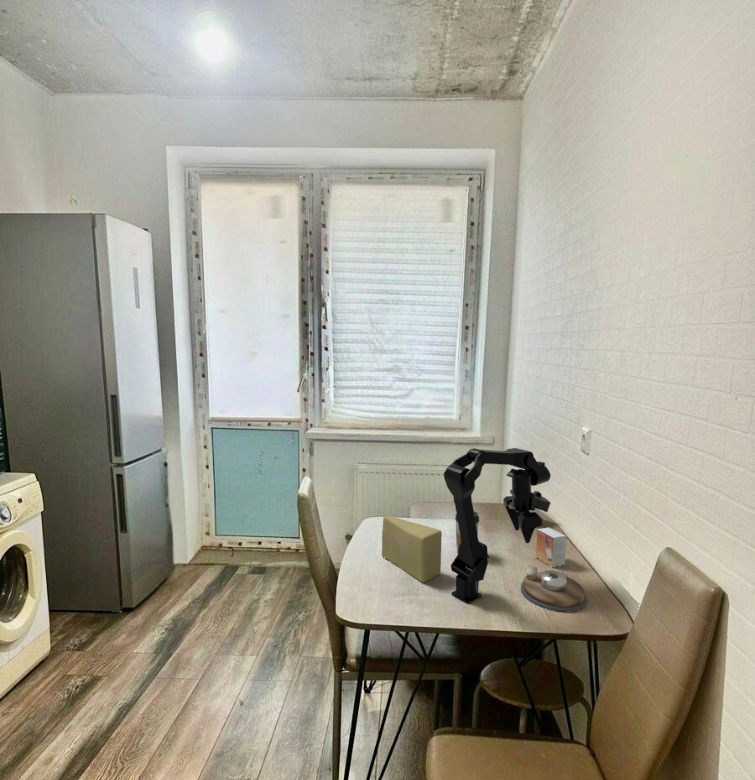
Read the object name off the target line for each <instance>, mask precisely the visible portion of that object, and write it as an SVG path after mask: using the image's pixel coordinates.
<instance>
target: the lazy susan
mask: <svg viewBox="0 0 755 780" xmlns="http://www.w3.org/2000/svg"><path fill="white" fill-rule="evenodd" d="M542 572H543V571H538V567H537V566H535V565H533V564H532V565H531V564H530V565H527V566H526V575H525V576H524V577H523V580H522V582H523V589H524V591H525V592H526V593H527V594H528V595H529V596H530V597H532V598H533V599H535V600H537V601H539V602H541V603H544V604H547V605H551V606H557V607H574V606H578V605H580V604H581V603H583V601H584V599H585V595H586V590H585V589H584V587H583V586H582V585H581V584H580V583H579V582H577V581H576V580H574V579H573V578H571V577H568V576H566V578H567V580H566V590H565V591H564V592H551V591H548V590H546V589H544V588H543V587H542V586H541V573H542Z"/></svg>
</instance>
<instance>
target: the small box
mask: <svg viewBox="0 0 755 780" xmlns="http://www.w3.org/2000/svg"><path fill="white" fill-rule="evenodd" d="M536 529H537V528H536ZM566 543H567V535H565V534H563V533H561V532H559V531H557V530H555V529H553V528H552V527H545V528H538V529H537V532H536V548H535V549H536V550H535V558H536V559H537V558H538V559H537V560H539V561H541V562H542V561H543V562H542V563H544V562H545V563H546V564H545V563H544V564H545V565H547V564H548V565H550V566H552V567H554V566H559V567H561V566H560V565H564V566H565V565H566V564H565V562H566V547H567V546H566V545H567V544H566ZM548 565H547V566H548ZM550 566H549V567H550ZM554 568H555V567H554Z"/></svg>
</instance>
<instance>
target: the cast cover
mask: <svg viewBox="0 0 755 780" xmlns="http://www.w3.org/2000/svg"><path fill="white" fill-rule="evenodd" d="M541 572H542V573H541V586H542V587H543V588H544V589H546V590H548V591H551V592H564V591H565V590H566V580H567V578H566V577H567V576H565V575H564V574H563V573H561V572H558V571H556V570H544V571H541Z"/></svg>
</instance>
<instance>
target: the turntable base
mask: <svg viewBox="0 0 755 780" xmlns="http://www.w3.org/2000/svg"><path fill="white" fill-rule="evenodd" d="M520 591H521V592H520V593H521V595H523V597H524V598H525V599H526V600H527V601H528V602H530V603H532V604H533V603H534V605H535V606H537V605H538V606H537V607H539V606H540V608H542V607H543V608H542V609H545V608H547V609H546V610H548V609H551V610H550V611H552V610H555V611H554V612H558V611H563V612H562V613H568V612H567V611H574V612H576V611H575V610H578V609H581V608H582V609H584V608H585V607H584V606H587V595H586V594H585V599H584V601H583V603H581V604H580V605H578V606H574V607H557V606H551V605H547V604H544V603H541V602H539V601H537V600H535V599H533V598H532V597H530V596H529V595H528V594H527V593H526V592H525V591H524V589H523V581H522V582H521V583H520ZM583 607H584V608H583ZM582 609H581V610H582ZM578 611H579V610H578Z"/></svg>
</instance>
